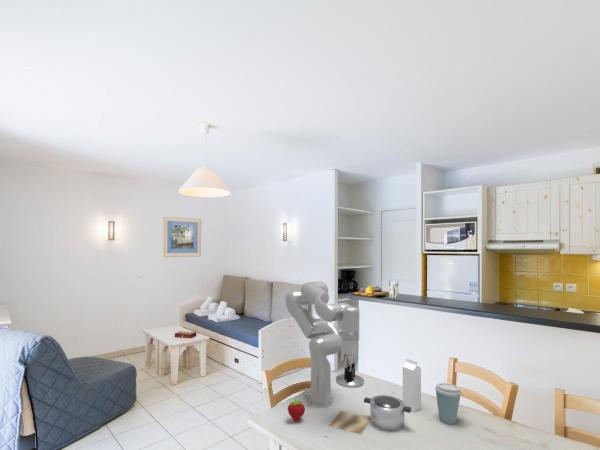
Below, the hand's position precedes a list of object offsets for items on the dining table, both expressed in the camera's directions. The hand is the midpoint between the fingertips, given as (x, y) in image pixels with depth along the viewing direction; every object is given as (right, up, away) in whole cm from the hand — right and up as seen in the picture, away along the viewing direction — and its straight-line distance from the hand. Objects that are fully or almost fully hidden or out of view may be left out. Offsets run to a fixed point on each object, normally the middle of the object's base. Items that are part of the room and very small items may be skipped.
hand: (349, 378), depth 146 cm
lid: (0, -2, 0) cm, 2 cm away
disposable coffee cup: (+43, -20, +2) cm, 48 cm away
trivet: (0, -19, -1) cm, 19 cm away
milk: (+31, -20, +13) cm, 39 cm away
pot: (+16, -19, -2) cm, 25 cm away
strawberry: (-23, -19, 0) cm, 30 cm away
